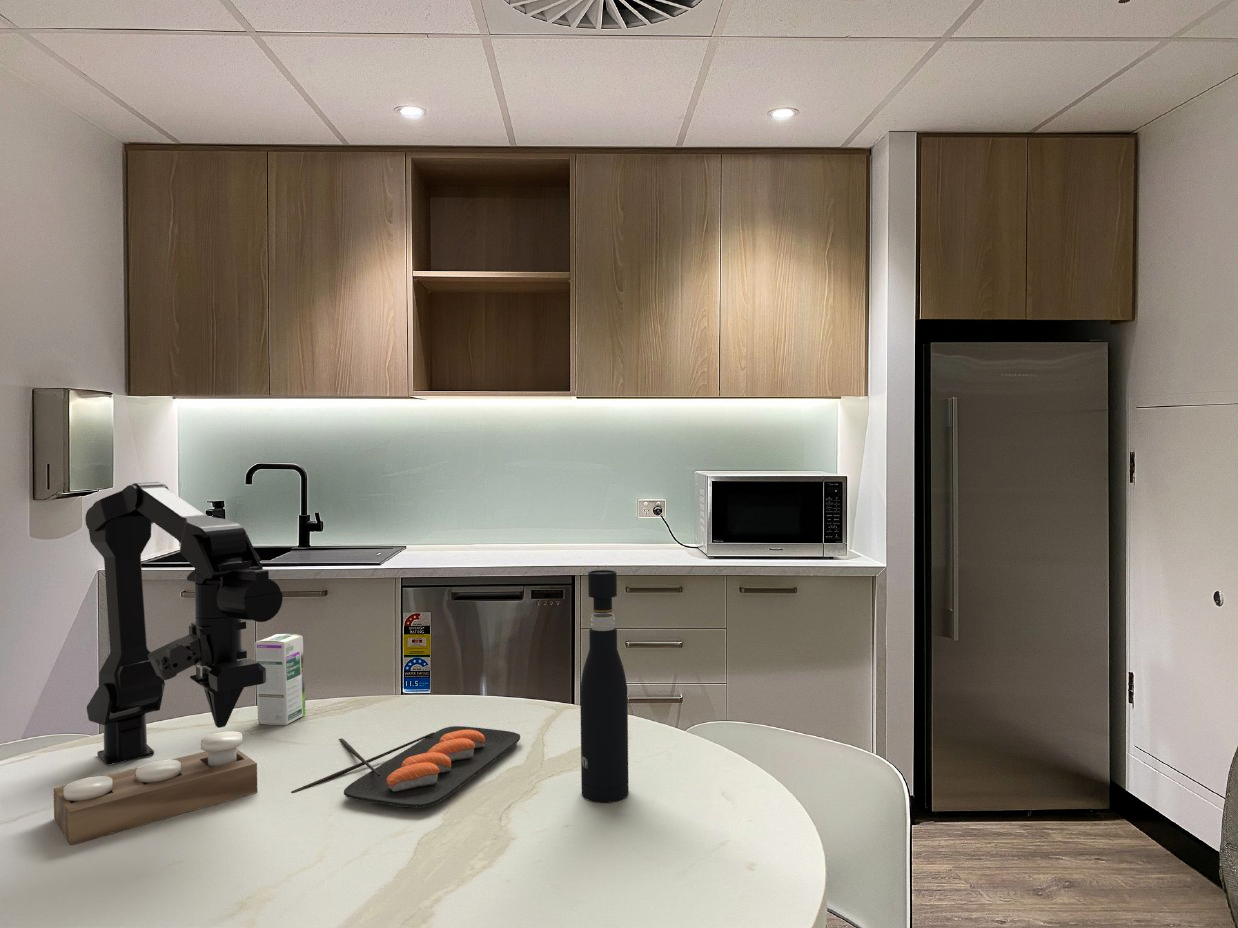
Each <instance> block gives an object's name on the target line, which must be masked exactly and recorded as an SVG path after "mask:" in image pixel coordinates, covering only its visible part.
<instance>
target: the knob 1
mask: <svg viewBox="0 0 1238 928" xmlns="http://www.w3.org/2000/svg"><path fill="white" fill-rule="evenodd" d="M65 785H66V786H65V787H64V799H66V800H70V801H72V803H75V802H79V801H83V800H87V799H92V798H96V797H99V796H103V795H105V794H106V793H108V792H110V791H111V790H112V788H113V783H112V778H110V777H107V776H105V775H102V776H101V775H98V776H90V777H84V778H80V779H77V780H74V781H72V782H70V783H68V784H65Z"/></svg>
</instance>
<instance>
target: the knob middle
mask: <svg viewBox="0 0 1238 928" xmlns="http://www.w3.org/2000/svg"><path fill="white" fill-rule="evenodd" d="M136 768H137V770H136V780H137V781H139V782H143V784H144V785H146V784H150V783H154V782H158V781H163V780H167V779H170V778H173V777H175V776H177V775H178V774H179V773H180V772H181V763H180V762H179V761H177V760H172V759H164V760H155V761H152V762H148V763H146V764H143V765H141V766H139V768H138V767H136Z"/></svg>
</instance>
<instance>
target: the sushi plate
mask: <svg viewBox="0 0 1238 928" xmlns="http://www.w3.org/2000/svg"><path fill="white" fill-rule="evenodd" d="M338 740H339V742H340V743H341V745H343V747H344V748H345V750H347V751H348V752H350V753H351V754H352V755H353V756H354V757H356V758H357V759H358V760H360V762H359V763H357V764H353V765H352V766H349V767H346V768H344V769H341V770H340V771H337V772H334V773H331V774H330V775H328V776H325V777H322V778H320V779H317V780H315V781H313V782H309V783H308V784H306V785H303V786H301V787H298V788H297V789H294V790H291V791H290V793H291V794H294V793H297V792H301V791H303V790H306V789H309V788H312V787H315V786H318V785H320V784H323V783H324V784H325V783H326V782H330V781H332V780H334V779H336V778H338V777H341V776H343V775H345V774H347V773H349V772H352V771H354V770H356V769H359V768H361V767H363V766H366V767H367V768H368V769H370V770H369V772H367V773H365V774H363V775H362V776H361V777H359V778H358V779H356V780H354V781H352V782H351V783H350V784H349V785H347V786H346V787H345V789H344V790H343V795H344V796H345V797H347V798H349V799H352V800H357V801H361V802H367V803H373V804H380V805H388V806H393V807H394V806H395V807H402V808H414V809H417V808H418V809H420V808H421V809H422V808H427V807H431V806H433V805H436V804H438V803H440V802H442V801H443V800H445V799H446V798H447V797H449V796H450V795H452V794H453V793H454V792H455V791H457V790H459V788H461V787H462V786H464V785H465V784H466V783H468V782H469V781H470V780H471V779H473V778H474V777H475V776H476V775H477V774H479V773H480V772H482V771H483V770H484V769H485V768H487V767H488V766H489V765H491V764H492V763H493V762H495V761H496V760H497V759H499V758H500V757H501V756H503V755H504V754H505V753H507V752H508V751H509V750H510V749H512V748H513V747H514V746H516V745H517V744H518V742H519V741H520V740H521V735H520V733H518V732H514V731H507V730H501V729H494V728H483V727H477V726H475V727H473V726H464V725H463V726H459V725H458V726H457V725H453V726H447V727H444V728H441V729H438V730H437V731H435V732H431V733H429V734H426V735H424V736H421V737H419V738H416V739H414V740H412V741H409V742H407V743H405V744H402V745H400V746H397V747H395V748H393V749H390V750H388V751H386V752H383V753H380V754H378V755H376V756H373V757H371V758H369V759H367V760H365V759H364V758H363V756H361V755H360V754H359V753H358V752H357V751H356V749H354V747H352V746H351V745H350V744H349V743H348V742H347V741H346V740H345V739H344V738H338ZM410 745H411V746H410ZM408 746H409V747H408ZM405 747H408V748H406V749H405V750H403V751H401V752H400V753H398V754H397V755H395V756H394V757H391V758H390V759H389V760H387V761H385V762H384V763H382V764H380V765H379V766H377V767H376V768H374V767H373V766H372V765H371V764H370V763H371V762H374V761H376V760H378V759H381V758H383V757H386V756H387V755H388V756H389V755H390V754H393V753H394V752H395V753H396V751H399V750H401V749H404V748H405Z"/></svg>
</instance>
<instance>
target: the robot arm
mask: <svg viewBox="0 0 1238 928" xmlns="http://www.w3.org/2000/svg"><path fill="white" fill-rule="evenodd" d="M153 524H155V525H156V526H158V527H159V528H161V529H162V530H163V531H164V532H166V533H167V534H169V535H170V536H171V537H173V538H174V539H176V540H177V541H178V542H179V543H180V544H179V545H180V546H179V553H180V554H181V555H182V557H184V559H185V560H186V561H187V562H188V563H189V564H190V565H191V566H192V567H193V568H194V570H193V571H191V572H190V573H189V574H188V575H187V576H186V581H188V582H193V583H194V600H195V603H194V604H195V605H194V606H195V607H194V608H195V610H194V611H195V614H194V615H195V622H190V625H189V626H188V634H187V635H185V636H182V637H181V638H177V639H175V640H173V641H171V642H169V643H167V644H165V645H163V646H161V647H159V648H157V649H154V650H153V651H150V650H149V649H148V643H147V631H146V630H147V629H146V628H147V627H146V614H145V599H144V585H143V584H144V583H143V572H142V570H143V568H142V553H143V552H144V549H145V548H146V546H147V545H148V543H149V541H150V539H151V537H152V525H153ZM85 525H86V527H87V529H88V534H89V540H90V543H91V544H92V546H93V547H94V548H95V549H96V550H97V552H98V553H99V554H100V555H101V556H102V558H103V562H104V563H103V564H104V577H105V578H104V579H105V590H106V591H105V594H106V607H107V608H106V610H107V621H108V622H107V623H108V625H107V627H108V639H109V654H108V655H107V657H106V659H105V662H104V663H103V664H102V666H101V668H100V670H99V672H98V673H99V674H98V687H97V689H96V690H95V692H94V693H93V696H92V697H91V698H90V700H89V701H88V704H87V706H86V713H87V717H88V721H89V722H92V723H95V724H99V725H102V727H103V750H99V751H97V757H99V759H100V760H101V761H102V762H103V763H104V764H105V765H106V766H110V765H114V764H118V763H122V762H127V761H131V760H135V759H140V758H144V757H147V756H148V757H149V756H153V755H155V750H154V749H153V748H152V747H151V746H150V745H148V743H147V742H148V741H147V739H148V738H147V714H148V713H153V712H158V711H160V710H161V706H162V702H163V701H162V700H163V696H164V692H165V691H164V690H165V687H166V686H165V685H166V683H165V682H166V681H167V680H170V679H173V678H175V677H176V676H177V675H178V674H179V673H181V672H183V671H185V670H187V669H189V668H191V667H194V666H195V674H193V675H190V676H189V679H190V680H192V681H193V682H194V683H196V684H197V685H199V686H200V687H202V688H203V691H204V693H205V696H206V700H207V703H208V705H209V709H210V711H211V712H210V713H211V716H212V718H213V719H212V720H213V721H214V725H215V727H216V728H218V729H219V728H224V727H226V725H227V724H228V722H229V719H230V717H231V715H232V713H233V711H234V709H235V706H236V704H237V702H238V700H239V698H240V696H241V694H242V692H243V691H244V689H245V688H248V687H249V688H250V687H254V686H257V685H259V684H264V683H265V682H266V668H265V667H263V666H262V665H261V664H259V663H258V662H256V660H253V658H248V655H247V654H248V651H247V650H246V649H243V648H242V647H243V646H242V645H243V644H242V643H243V642H242V641H243V639H242V630H246V629H247V621H249V622H250V621H251V622H256V623H265V622H268V621H270V620H272V619H273V618H274V617H275V616H276V615H277V614H278V613H279V611H280V610H281V608H282V603H283V600H284V599H283V591H281V588H280V586H279V585H278V583H277V582H275V581H274V580H272V579H270V578H269V577H270V576H269V574H270V573H269V570H268V569H264V567H263V566H262V565H263V564H262V563H261V557H260V556H259V554H258V553H257V551H256V550H255V548H254V545H253V544H252V542H251V540H250V538H249V535H248V534H247V531H246V529H245V528H244V527H243V526H242V525H241V524H239V523H237V522H235V521H232V520H229V519H225V518H222V517H221V518H220V517H214V516H209V515H206V514H204V513H203V512H201V511H200V510H199V509H197V508H196V507H194V506H193V505H191V504H190V503H189V502H187V501H185V500H184V499H183V498H181V497H180V496H178V495H177V494H176V493H173V491H171V490H170V489H169V487H168V485H167V484H165V483H162V482H159V481H155V482H135V483H131V484H129V485H126V487H124V488H123V489H122V490H120V491H117V492H115V493H113V494H110V495H108V496H105V497H103V498H100V499H99V500H96V501H95V502H94V503H93V504H92V505H91V506H90V507H89V508H88V509H87V511H86V513H85Z"/></svg>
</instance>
